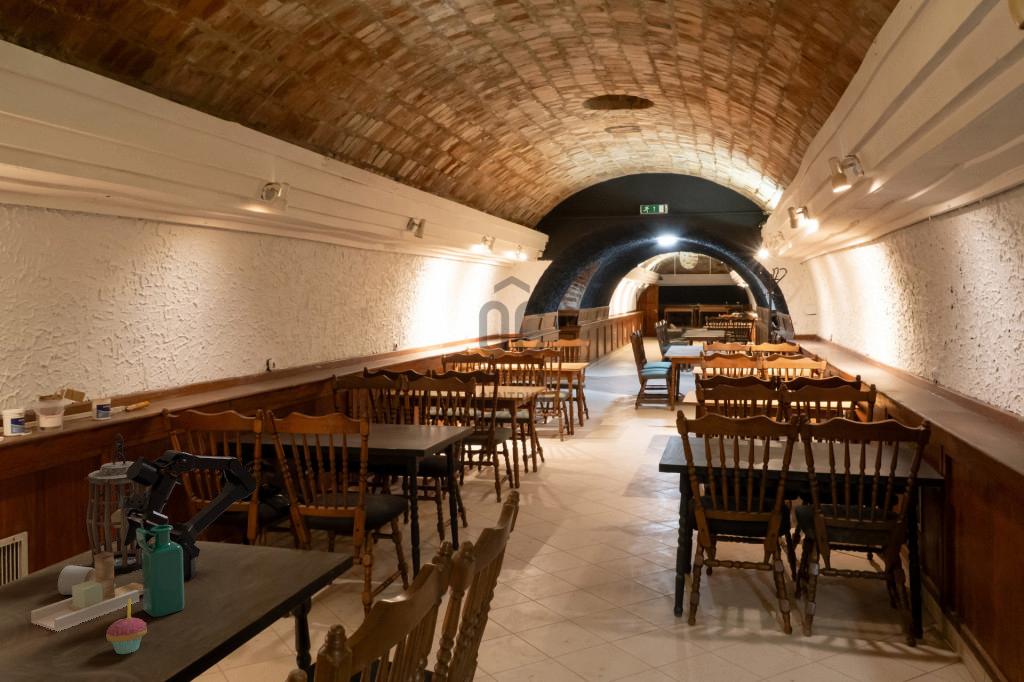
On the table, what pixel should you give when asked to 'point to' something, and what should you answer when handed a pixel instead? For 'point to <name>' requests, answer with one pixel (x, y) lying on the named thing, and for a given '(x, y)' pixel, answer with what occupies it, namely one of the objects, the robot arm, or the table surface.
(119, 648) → the cupcake
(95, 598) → the block
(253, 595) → the table surface
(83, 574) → the ceramic mug
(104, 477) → the lantern
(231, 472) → the robot arm
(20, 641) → the table surface
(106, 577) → the wooden stair steps
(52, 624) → the lane board
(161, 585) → the green bottle
